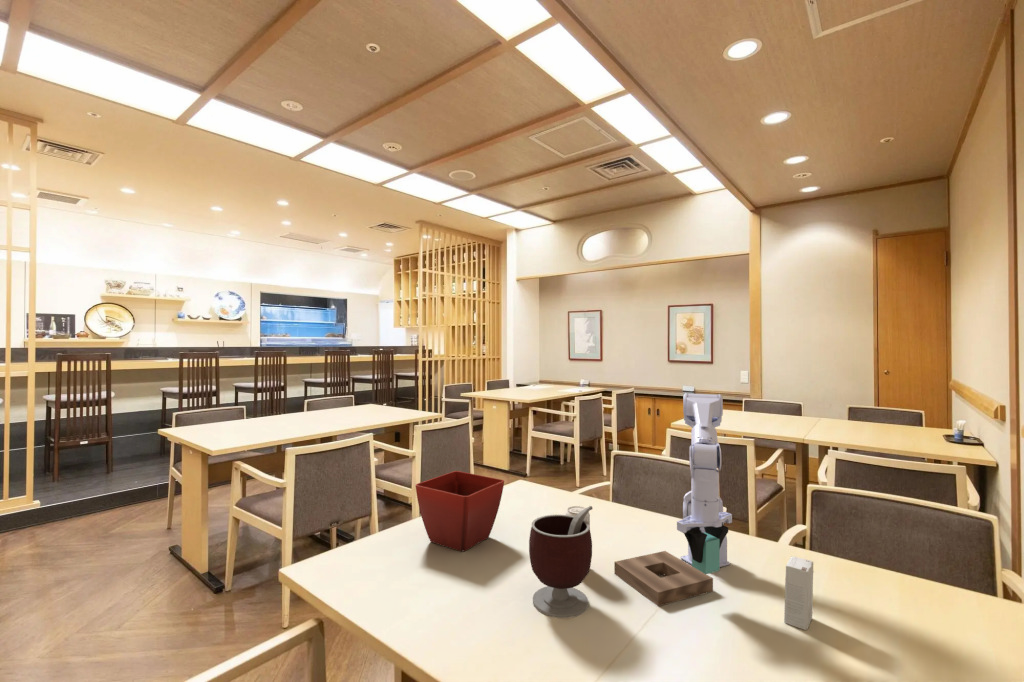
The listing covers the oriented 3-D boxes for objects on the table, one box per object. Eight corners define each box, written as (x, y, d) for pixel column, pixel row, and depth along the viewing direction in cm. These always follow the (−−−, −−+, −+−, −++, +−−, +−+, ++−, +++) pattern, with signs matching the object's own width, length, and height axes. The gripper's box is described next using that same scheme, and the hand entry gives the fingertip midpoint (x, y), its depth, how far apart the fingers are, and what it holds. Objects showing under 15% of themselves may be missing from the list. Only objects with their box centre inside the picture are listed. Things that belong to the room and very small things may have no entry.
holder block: (665, 562, 125) (665, 550, 125) (713, 591, 111) (713, 578, 111) (614, 573, 119) (614, 561, 119) (658, 606, 104) (658, 592, 104)
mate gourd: (550, 627, 97) (550, 527, 97) (517, 595, 109) (518, 507, 109) (611, 607, 104) (611, 515, 104) (574, 579, 116) (574, 497, 116)
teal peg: (705, 563, 109) (705, 532, 109) (719, 570, 106) (719, 539, 106) (692, 566, 108) (692, 535, 108) (706, 574, 104) (706, 542, 104)
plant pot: (505, 536, 142) (505, 479, 143) (466, 560, 126) (466, 496, 126) (455, 522, 153) (455, 470, 153) (413, 543, 137) (413, 484, 137)
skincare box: (789, 610, 103) (789, 554, 103) (813, 618, 100) (813, 560, 100) (783, 623, 98) (783, 564, 98) (808, 632, 95) (808, 571, 95)
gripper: (693, 508, 100) (693, 573, 100) (743, 499, 106) (743, 560, 106) (670, 498, 107) (669, 559, 106) (717, 490, 112) (717, 547, 112)
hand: (704, 559), depth 107 cm, fingers closed on teal peg, 4 cm apart
